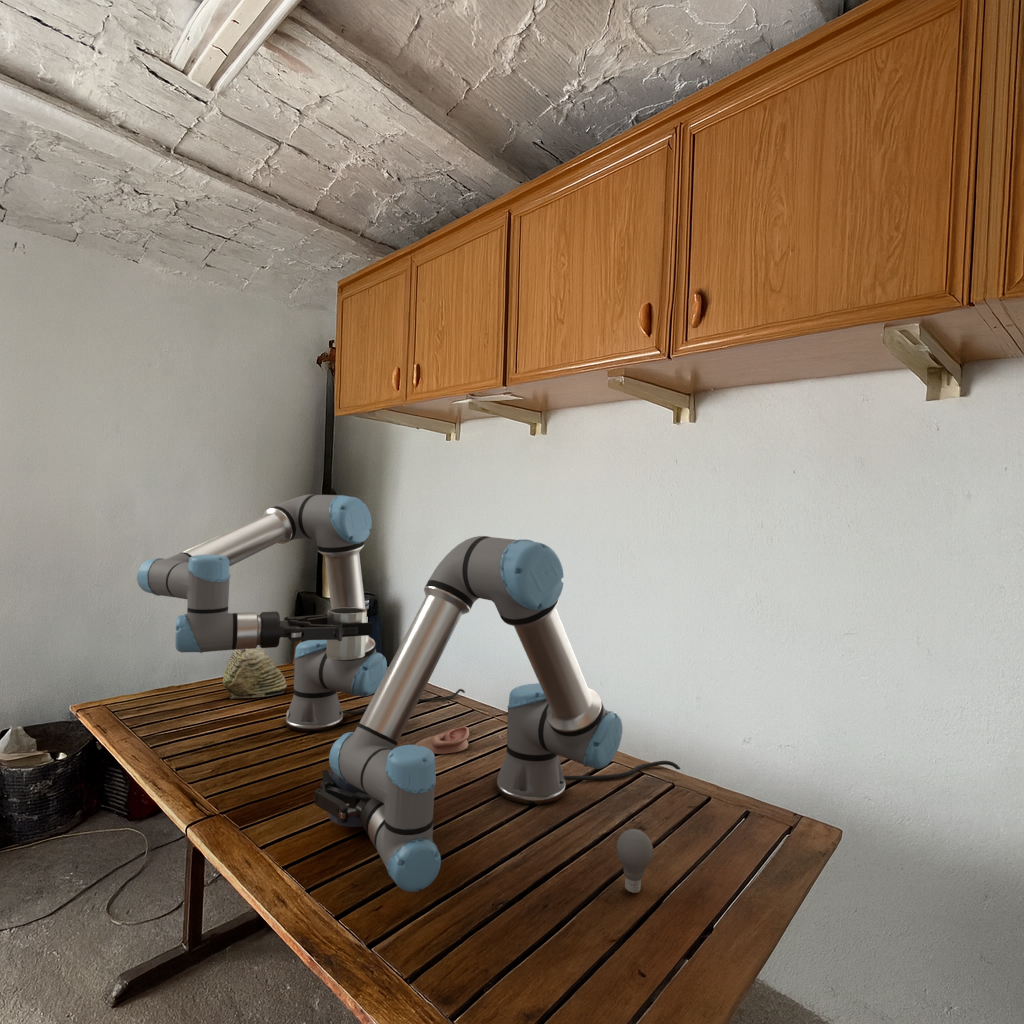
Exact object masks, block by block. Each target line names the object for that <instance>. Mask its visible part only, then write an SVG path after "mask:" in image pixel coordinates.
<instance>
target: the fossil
mask: <svg viewBox="0 0 1024 1024" xmlns="http://www.w3.org/2000/svg"><path fill="white" fill-rule="evenodd" d="M222 676H223V677H222V685H223V687H224V688H225V690H226V691H228V693H229V698H230V699H250V698H264V697H271V696H275V695H281V694H284V693H285V691H286V689H287V687H288V686H287V680H286V678H285V676H284V674H283V673H282V672H281V669H279V668H278V667H277V665H276V663H275V662H274V660H273V659H272V658H271V657H270V656H269V655H268V654H267V653H266V652H265V650H264V648H261V647H256V648H255V649H246V651H245V652H242V651H241V649H237V650H233V651H232V653H231V656H230V657H229V659H228V660H227V663H226V666H225V668H224V671H223V675H222Z"/></svg>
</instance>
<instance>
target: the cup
mask: <svg viewBox="0 0 1024 1024" xmlns="http://www.w3.org/2000/svg"><path fill="white" fill-rule="evenodd" d="M327 614H328V617H327V625H342V624H347V623H366V619H367V617H368V615H367V614H368V610H367V609H366V608H365V609H363V608H357V607H338V608H332V609H331V608H329V609H328V610H327ZM334 634H335V631H334ZM365 644H366V636H351V637H342V641H338V640H327V645H326V653H327V657H328V658H331V659H336V660H353V659H358V658H362V657H364V656H365Z"/></svg>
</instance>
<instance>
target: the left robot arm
mask: <svg viewBox="0 0 1024 1024" xmlns="http://www.w3.org/2000/svg"><path fill="white" fill-rule="evenodd" d="M372 521H373V520H372V516H371V511H370V509H369V508H368V506H367V505H366V503H365V502H364V501H362V500H361V499H360V498H358V497H356V496H348V495H344V494H316V493H315V494H314V493H313V494H312V493H311V494H309V493H308V494H304V495H300V496H296V497H294V498H292V499H289V500H286V501H284V502H281V503H278V504H277V505H274V506H272V507H270V508H268V509H266V510H265V511H264V512H263V514H262V516H260V517H256V518H255V519H252V520H250V521H247V522H246V523H244V524H242V525H240V526H237V527H234V528H233V529H230V530H228V531H226V532H224V533H221V534H219V535H217V536H214V537H213V538H210V539H208V540H206V541H203V542H202V543H199V544H197V545H195V546H193V547H190V548H188V549H186V550H183V551H181V552H179V553H177V554H174V555H172V556H169V557H167V558H161V557H158V558H151V559H148V560H146V561H144V562H143V563H142V564H141V565H140V566H139V568H138V570H137V573H136V581H137V584H138V587H139V588H140V589H141V590H142V591H144V592H145V593H149V594H152V595H155V596H157V597H158V596H159V597H160V596H162V597H170V598H176V599H182V600H187V606H186V608H187V609H186V610H187V611H186V613H185V614H179V615H178V616H177V617H176V619H175V620H176V621H175V635H174V636H175V638H174V639H175V640H174V643H175V649H176V651H177V652H179V653H200V654H202V653H210V652H221V651H222V652H223V651H235V650H237V649H241V651H242V652H245V651H246V649H257V648H258V646H259V648H261V649H272V648H277V647H279V646H280V641H281V638H288V640H290V641H291V642H299V643H298V644H297V645H296V647H295V652H294V653H295V654H294V657H293V659H294V660H293V662H294V663H293V665H294V666H293V695H292V696H293V697H292V699H291V702H290V704H289V708H288V709H287V711H286V714H285V726H286V728H287V729H289V730H291V731H294V732H295V731H296V732H301V733H316V732H325V731H329V730H332V729H335V728H337V727H339V726H340V725H342V723H343V722H344V715H347V714H348V715H356V714H361V713H365V711H366V709H367V707H368V706H367V707H364V708H362V709H359V710H343V709H342V706H341V702H340V699H339V695H338V692H340V693H344V694H349V695H352V696H353V697H358V696H359V697H370V696H372V695H374V694H375V692H376V690H377V688H378V686H379V685H380V683H381V681H382V679H383V677H384V675H385V673H386V671H387V669H388V663H387V658H386V656H385V655H383V654H382V653H381V652H377V647H376V642H375V640H374V638H372V637H371V636H373V621H369V622H368V620H367V618H366V623H347V624H342V625H327V617H328V613H325V614H315V615H314V614H313V615H302V616H285V617H284V618H283V620H281V616H280V613H279V612H278V611H261V612H260V613H259V614H258V612H257V611H246V612H244V611H243V612H233V613H231V612H229V600H230V599H229V598H230V597H229V596H230V579H231V573H230V567H232V566H234V565H235V564H237V563H240V562H241V561H243V560H246V559H248V558H249V557H251V556H254V555H255V554H258V553H261V551H263V550H266V549H267V548H270V547H272V546H274V545H275V544H280V545H283V544H287V543H289V542H290V541H294V540H303V539H306V540H307V539H308V540H315V541H316V547H317V552H318V553H320V554H321V555H322V556H324V560H325V567H326V568H325V569H326V577H327V583H328V584H327V585H328V592H329V593H328V594H329V601H330V607H331V608H330V609H332V608H338V607H357V608H363V609H366V601H365V593H364V584H363V574H362V567H361V558H360V557H361V556H360V552H361V550H362V549H363V548H364V546H365V541H366V540H367V539H368V538H369V536H370V534H371V530H372V525H373V522H372ZM334 631H335V634H334ZM351 636H366V644H365V656H364V657H362V658H358V659H353V660H336V659H331V658H328V657H327V653H326V645H327V640H338V641H342V637H351ZM300 641H302V642H300ZM460 692H462V694H463V693H464V694H465V693H466V691H465V690H464V689H463V688H459V689H458V690H456V691H455V693H453V694H451V695H448V696H440V697H428V698H427V697H426V698H420V699H419V701H418V702H430V701H431V702H433V701H444V700H449V699H453V698H455V697H456V696H457V695H458V694H459V693H460Z"/></svg>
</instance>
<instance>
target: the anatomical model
mask: <svg viewBox="0 0 1024 1024" xmlns="http://www.w3.org/2000/svg"><path fill="white" fill-rule="evenodd" d="M469 736H470V729H469V727H468V726H460V727H455V728H453V729H449V730H447V731H444V732H441V733H438V734H435V735H433V736H428V737H425V738H423V739H421V740H419V741H417V742H416V743H415V744H414V745H416V746H424V747H426V748H428V749H430V750H431V751H432V752H433V754H434V755H443V754H451V753H458V752H461V751H464V750H466V749H467V748H468V747H469V742H468V740H467V739H468V738H469Z"/></svg>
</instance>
